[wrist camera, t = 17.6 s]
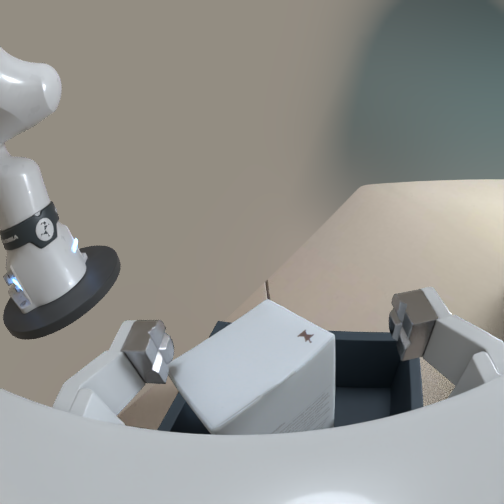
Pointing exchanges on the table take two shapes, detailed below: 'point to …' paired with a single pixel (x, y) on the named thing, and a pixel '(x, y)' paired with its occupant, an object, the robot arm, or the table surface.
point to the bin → (344, 383)
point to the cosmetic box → (261, 375)
